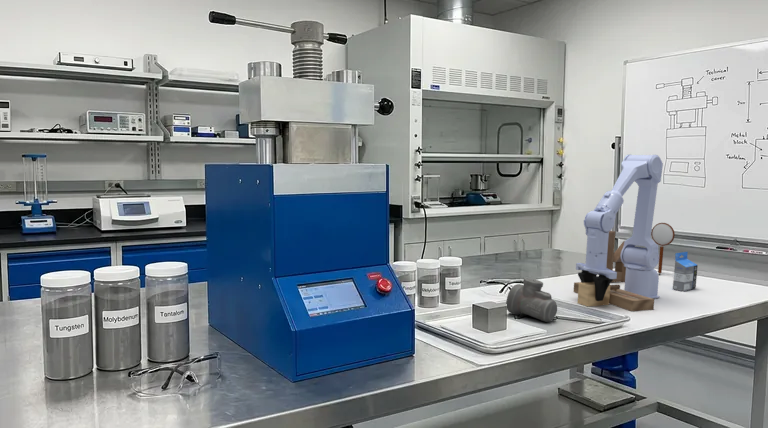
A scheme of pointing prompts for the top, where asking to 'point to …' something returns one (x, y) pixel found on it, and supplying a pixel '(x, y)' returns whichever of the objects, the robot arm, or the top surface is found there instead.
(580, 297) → the light wood pillar
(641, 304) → the walnut plank
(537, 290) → the grey electric motor
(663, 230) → the magnifying glass
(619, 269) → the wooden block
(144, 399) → the top surface
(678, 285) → the label tape cartridge
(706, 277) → the top surface
